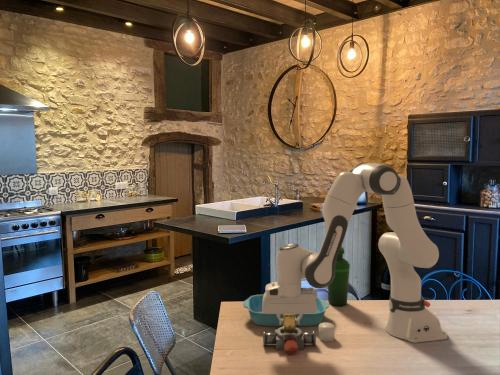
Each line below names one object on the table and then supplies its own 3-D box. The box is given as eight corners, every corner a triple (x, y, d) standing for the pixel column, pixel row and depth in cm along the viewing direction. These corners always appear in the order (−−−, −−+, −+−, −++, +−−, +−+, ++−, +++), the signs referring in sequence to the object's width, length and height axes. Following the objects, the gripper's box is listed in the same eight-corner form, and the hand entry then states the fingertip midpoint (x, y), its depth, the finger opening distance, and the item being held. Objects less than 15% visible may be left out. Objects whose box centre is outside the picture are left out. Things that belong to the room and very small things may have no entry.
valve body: (312, 338, 153) (312, 325, 153) (318, 355, 141) (318, 340, 141) (262, 339, 153) (262, 326, 153) (264, 355, 141) (264, 341, 141)
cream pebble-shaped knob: (332, 334, 157) (332, 322, 157) (336, 342, 151) (336, 329, 151) (317, 334, 157) (317, 322, 157) (320, 342, 151) (320, 329, 151)
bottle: (352, 301, 190) (353, 244, 188) (344, 309, 182) (345, 249, 179) (331, 297, 196) (331, 241, 194) (322, 304, 187) (323, 246, 185)
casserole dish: (323, 308, 184) (323, 293, 183) (333, 329, 162) (333, 312, 161) (243, 308, 184) (243, 293, 183) (242, 330, 162) (242, 313, 161)
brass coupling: (294, 327, 151) (294, 312, 150) (296, 333, 146) (296, 317, 146) (282, 327, 151) (282, 312, 150) (283, 333, 146) (283, 317, 146)
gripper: (316, 284, 150) (315, 320, 151) (261, 285, 150) (261, 320, 151) (318, 290, 144) (318, 327, 145) (262, 291, 144) (262, 328, 145)
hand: (289, 324), depth 148 cm, fingers closed on brass coupling, 4 cm apart
